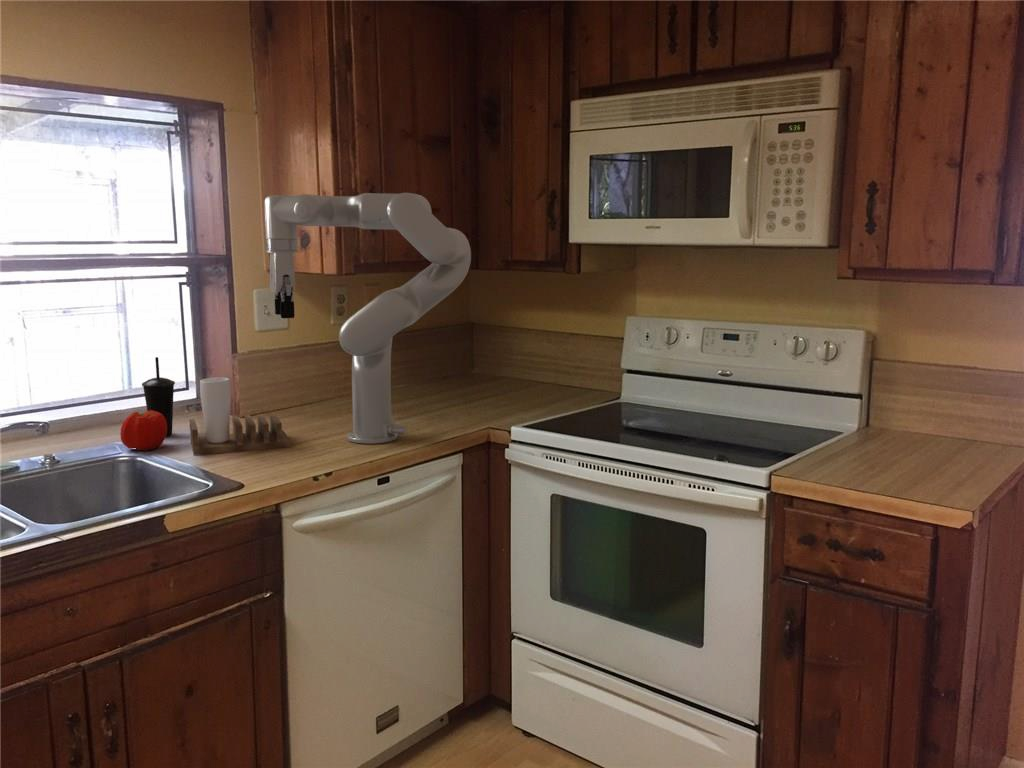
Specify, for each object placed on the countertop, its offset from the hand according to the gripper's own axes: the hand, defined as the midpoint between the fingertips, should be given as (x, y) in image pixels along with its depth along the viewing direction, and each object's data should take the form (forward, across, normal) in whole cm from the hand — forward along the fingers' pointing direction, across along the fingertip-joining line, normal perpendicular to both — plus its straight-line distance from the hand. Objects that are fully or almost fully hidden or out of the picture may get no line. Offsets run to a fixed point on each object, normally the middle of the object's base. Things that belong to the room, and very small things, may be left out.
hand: (284, 316), depth 213 cm
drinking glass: (+29, +7, -18) cm, 35 cm away
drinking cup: (+31, -10, -30) cm, 44 cm away
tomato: (+31, +2, -34) cm, 46 cm away
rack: (+30, +7, -13) cm, 34 cm away
